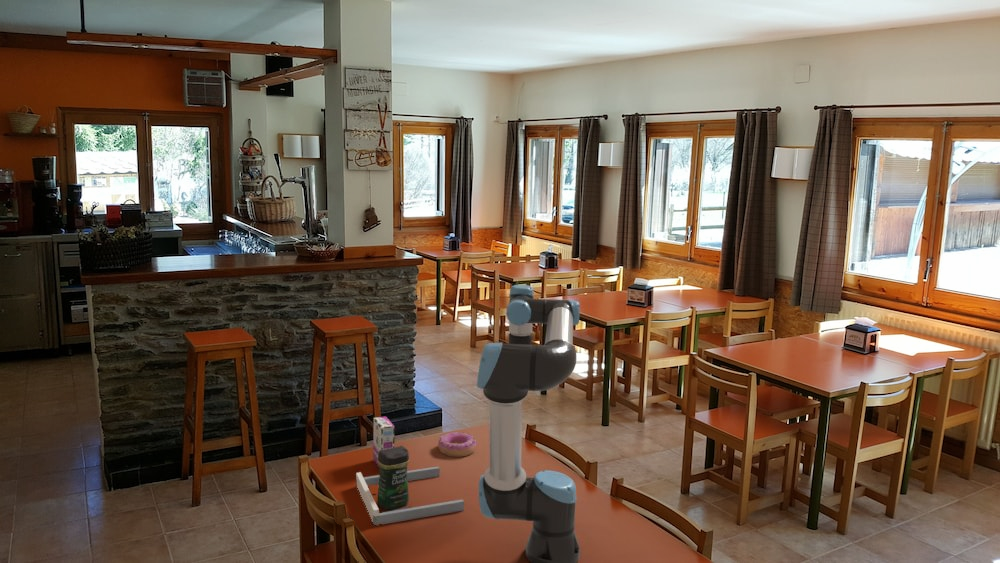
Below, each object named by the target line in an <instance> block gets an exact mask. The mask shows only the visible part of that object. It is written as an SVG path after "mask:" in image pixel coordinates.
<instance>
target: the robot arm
mask: <svg viewBox="0 0 1000 563" xmlns="http://www.w3.org/2000/svg"><path fill="white" fill-rule="evenodd" d="M508 296H509V302H508V304H507V306H506V319H507V320H508V332H509V334H508V343H503V341H502V342H501V341H500V342H489V343H486V344H485V345H484V346H483V348H482V352H481V355H480V359H479V360H480V361H479V366H478V372H477V380H476V387H477V388H479V389H480V390H482V391H483V396H484V398H485V399H487V401H488V403H489V404H488V411H489V414H488V415H489V416H488V417H489V419H488V420H489V422H488V425H489V426H488V427H489V430H488V431H489V433H488V434H489V437H488V438H489V467H487V468H486V470H485V471H484V474H481V475H480V478H479V482H478V503H479V509H480V512H481V514H482V515H483V516H484V517H485V518H487V519H494V520H510V521H511V520H512V521H523V522H525V521H526V522H532V529H531V531H530V534H529V537H528V540H527V541H526V544H525V557H526V559H527V560H528V561H529V563H578V562H579V561H580V553H581V552H580V551H581V550H580V545H579V542H578V538H577V535H576V532H575V522H576V502H577V497H578V496H577V486H576V483H575V482H574V480H573V479H572V478H571V477H569V476H568V475H567V474H565V473H562V472H559V471H555V470H540V471H537V472H536V473H535V475H534V476H533V477H530V476H527V473H526V470H525V469H524V468H523V467H522V434H523V433H522V427H523V426H522V425H523V424H522V422H523V421H522V420H523V419H522V418H523V401H524V400H525V399H527V396H528V394H529V392H530V391H531V392H532V391H533V392H534V394H535V395H537V396H541V392H544V391H548V390H551V389H554V388H556V387H558V386H560V385H561V384H563V383H564V382H565V381H566V380H567V379H568V378H569V377H570V376H571V375H572V373H573V372H574V370H575V367H576V364H577V351H576V349H575V347H574V343H573V340H574V339H573V338H574V334H573V333H574V326H577V325H578V324H579V323H580V302H579V301H577V300H569V299H546V298H535V295H534V288H533V287H532V286H531V285H529V284H528V285H527V284H514V285H512V286H510V288H509V295H508ZM533 324H538V325H539V324H540V325H542V324H543V325H546V330H545V340H544V344H533V334H532V333H533Z"/></svg>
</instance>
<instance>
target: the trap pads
mask: <svg viewBox="0 0 1000 563" xmlns="http://www.w3.org/2000/svg"><path fill="white" fill-rule="evenodd" d="M407 508H413V507H412V506H407V507H398V508H393V509H386V510H383V511H380V512H382V513H383V512H389V511H395V510H401V509H407Z"/></svg>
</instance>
